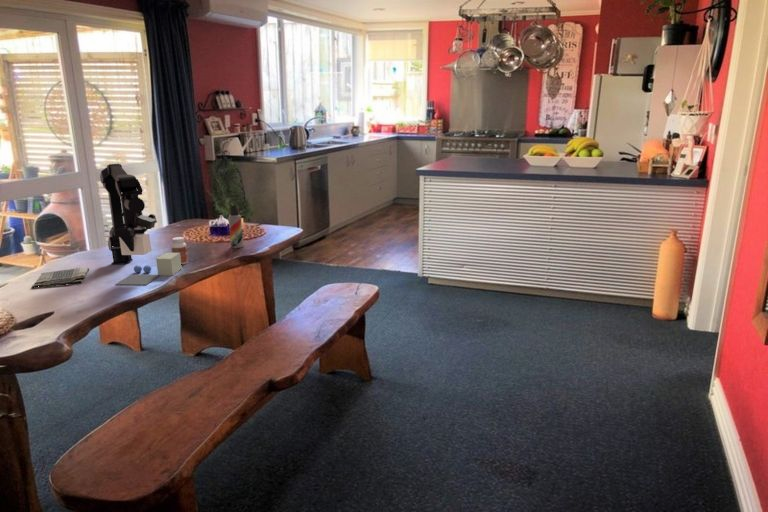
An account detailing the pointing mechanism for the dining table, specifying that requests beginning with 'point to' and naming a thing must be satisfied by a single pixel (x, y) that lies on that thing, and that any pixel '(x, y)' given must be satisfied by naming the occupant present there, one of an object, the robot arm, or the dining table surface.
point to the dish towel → (62, 277)
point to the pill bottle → (180, 248)
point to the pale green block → (169, 264)
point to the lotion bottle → (235, 227)
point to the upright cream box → (137, 245)
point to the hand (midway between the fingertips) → (136, 249)
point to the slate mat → (138, 280)
